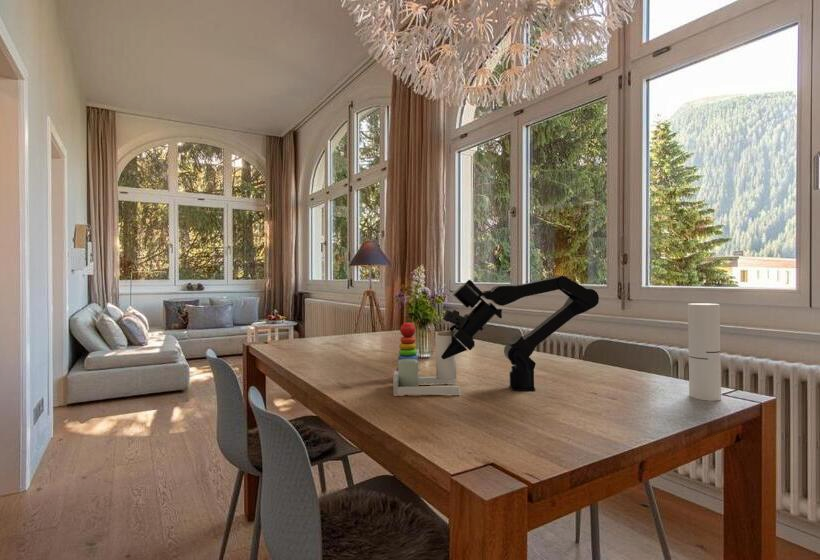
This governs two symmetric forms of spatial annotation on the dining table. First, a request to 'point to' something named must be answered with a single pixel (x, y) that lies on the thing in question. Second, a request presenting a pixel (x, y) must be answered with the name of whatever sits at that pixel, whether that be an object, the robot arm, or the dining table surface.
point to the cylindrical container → (704, 351)
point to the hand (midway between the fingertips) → (441, 356)
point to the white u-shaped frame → (425, 387)
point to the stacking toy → (407, 343)
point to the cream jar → (448, 365)
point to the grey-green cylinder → (408, 372)
